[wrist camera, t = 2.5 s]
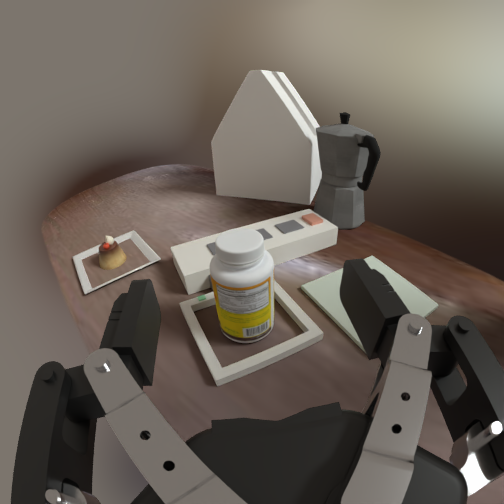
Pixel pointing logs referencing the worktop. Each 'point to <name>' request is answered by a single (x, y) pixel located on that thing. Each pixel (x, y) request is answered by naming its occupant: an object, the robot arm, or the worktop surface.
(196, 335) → the white square frame
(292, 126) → the white slotted block
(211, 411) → the worktop surface
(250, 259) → the supplement bottle
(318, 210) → the coffeepot
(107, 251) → the dessert
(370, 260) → the mat
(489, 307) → the worktop surface
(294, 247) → the power strip
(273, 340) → the worktop surface
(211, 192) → the worktop surface
